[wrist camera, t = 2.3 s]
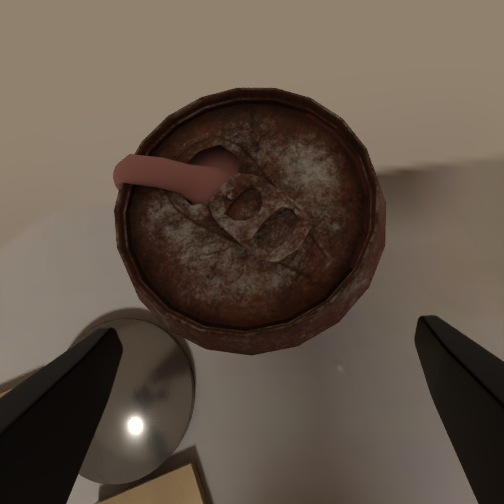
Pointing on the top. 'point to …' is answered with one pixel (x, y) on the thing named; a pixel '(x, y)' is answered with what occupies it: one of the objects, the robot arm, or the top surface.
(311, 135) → the can
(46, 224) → the top surface
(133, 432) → the flat squares and disc
